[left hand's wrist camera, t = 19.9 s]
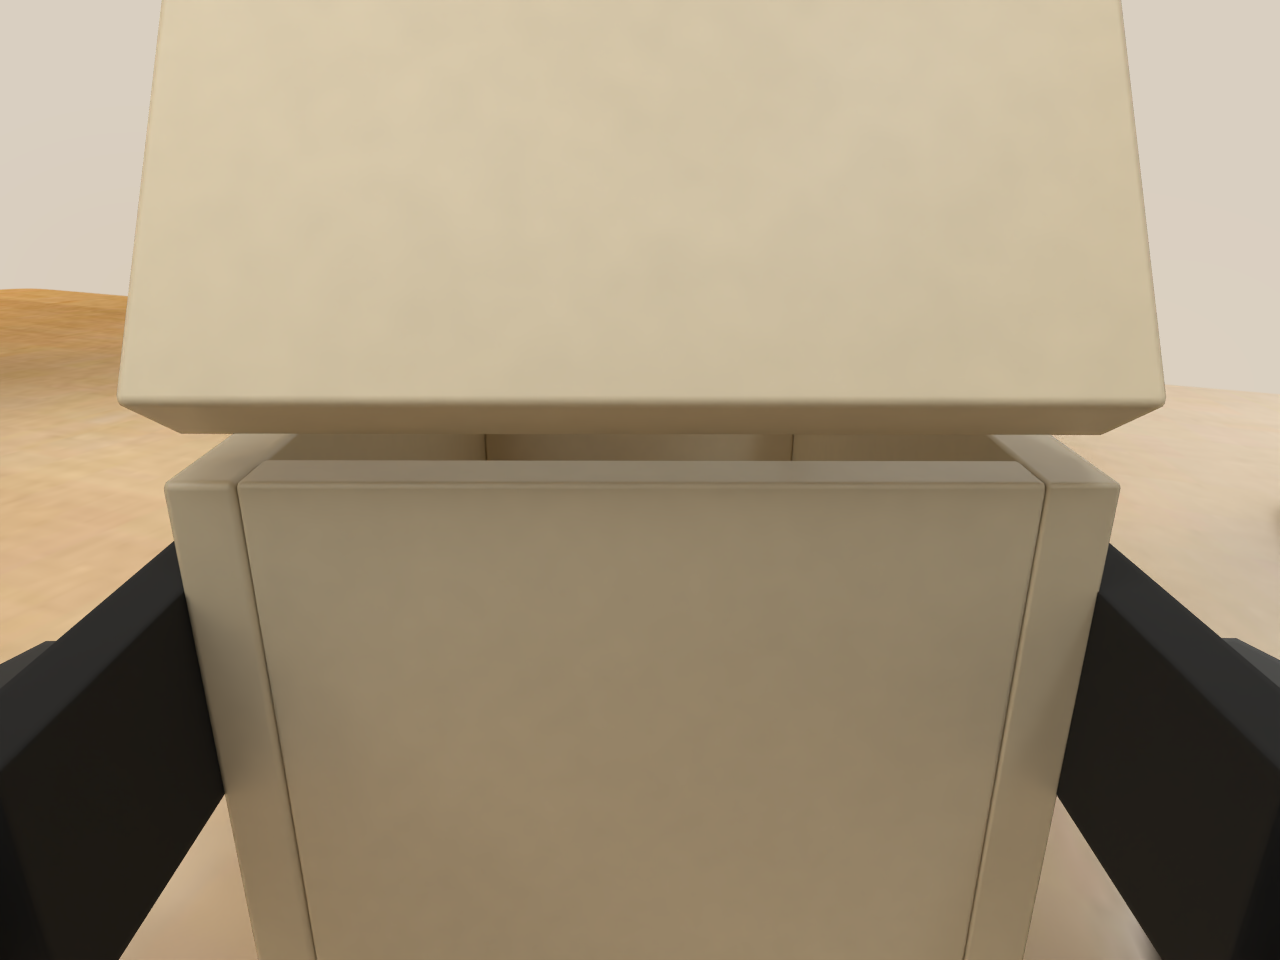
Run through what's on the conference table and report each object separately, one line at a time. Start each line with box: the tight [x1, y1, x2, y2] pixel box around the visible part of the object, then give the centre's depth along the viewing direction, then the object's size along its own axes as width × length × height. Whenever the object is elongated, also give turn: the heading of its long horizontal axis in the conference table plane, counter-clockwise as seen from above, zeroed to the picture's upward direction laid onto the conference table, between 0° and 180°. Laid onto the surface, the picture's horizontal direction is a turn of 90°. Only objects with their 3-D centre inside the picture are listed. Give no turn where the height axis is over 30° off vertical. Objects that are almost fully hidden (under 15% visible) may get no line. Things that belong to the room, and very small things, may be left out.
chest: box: [164, 434, 1120, 960], centre depth 18 cm, size 15×10×9 cm, turn 0°
